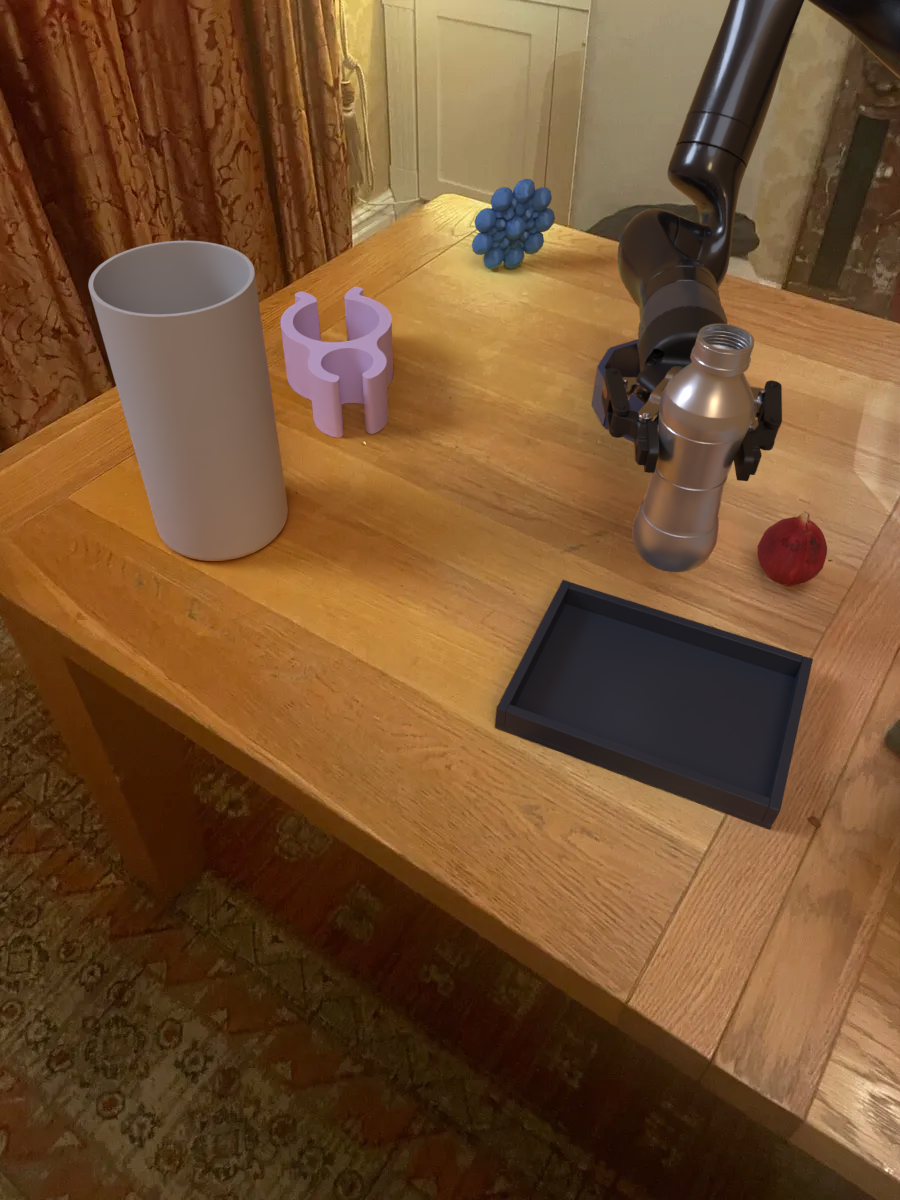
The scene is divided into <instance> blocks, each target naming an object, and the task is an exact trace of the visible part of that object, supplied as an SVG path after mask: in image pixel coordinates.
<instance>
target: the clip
mask: <svg viewBox="0 0 900 1200" xmlns="http://www.w3.org/2000/svg"><path fill="white" fill-rule="evenodd" d="M344 312H345V325H346V341H323V340H322V338H321V325H320V316H319V305H318V299H317V298H316V297H315V296H314V295H312V294H311V293H308V292H306V291H303V290H302V291H301V290H299V291H297V292H295V293H294V303H293V304H291V305H290V306H289V307H287V308H286V309H285V311H284V312H283V313H282V315H281V317H280V322H279V325H280V331H281V340H282V348H283V355H284V363H285V373H286V380H287V382H288V385H289V387H290V388H291V389H292V390H293V391H294V392H295V393H296V394H298V395H300V396H301V397H303V398H305V399H308V400H309V401H311V409H312V410H311V411H312V418H313V419H312V420H313V423H314V425H315V427H316V428H317V429H318V431H320V432H321V433H323V434H325V435H326V436H329V437H332V438H335V439H340V438H342V437H343V436H344V418H343V405H344V404H360V405H363V407H364V423H365V425H364V427H365V432H366V433H368V434H370V435H374V434H377V433H379V432H380V431H381V430H383V429H384V427H385V426H386V425H387V423H388V421H389V393H388V389H389V388H388V387H389V385H390V384H391V383H392V381H393V378H394V347H393V321H392V320H393V319H392V314H391V311H390V310H389V309H388V307H386V306H385V305H384V304H383V303H381V302H379V301H378V300H376V299H373V298H371V297H368V296H364V288H363V287H360V286H353V287H352V288H350V289H349V290H348V291H347V292H345V294H344Z"/></svg>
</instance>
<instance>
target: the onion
mask: <svg viewBox="0 0 900 1200" xmlns="http://www.w3.org/2000/svg"><path fill="white" fill-rule="evenodd" d="M756 548H757V549H756V551H757V552H756V554H757V559H758V563H759V567H760V568H761V570H762V572H763V573H764V574H765V575H766V577H767V578H769V579H770V580H771V581H772V582H775V583H777V584H779V585H784V586H797V585H802V584H806V583H808V582H810V581H811V580H812V579H814V578H815V577H816V576H818V575H819V573H820V572H821V571H822V570H823V568H824V565H825V564H826V563H825V562H826V558H827V555H828V544H827V540H826V537H825V534H824V533H823V531H822V529H821V528H820V527H819V526H818V525H817V524H816V523H815V522H814V521H813V520H811V519H810V513H809V512H807V511H805V510H803V511H802V512H801V513H800V514H798V516H792V517H786V518H783V519H780V520H778V521H776V522H775V523H774V524H772V525H770V526H769V527H768V528H767V529H766V530H765V531H764V533H763V534H762V536H761V537H760V540H759V542H758V544H757V547H756Z"/></svg>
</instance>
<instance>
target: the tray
mask: <svg viewBox="0 0 900 1200" xmlns="http://www.w3.org/2000/svg"><path fill="white" fill-rule="evenodd" d="M813 661H814V658H812V657H810V656H805V655H803V654H799V653H796V652H793V651H790V650H787V649H783V648H780V647H778V646H774V645H772V644H768V643H765V642H761V641H758V640H755V639H752V638H749V637H745V636H743V635H739V634H737V633H733V632H730V631H726V630H724V629H720V628H717V627H715V626H711V625H708V624H704V623H701V622H698V621H695V620H691V619H689V618H686V617H683V616H679V615H675V614H672V613H669V612H666V611H663V610H660V609H658V608H653V607H651V606H648V605H644V604H641V603H638V602H635V601H632V600H629V599H625V598H622V597H618V596H616V595H612V594H610V593H607V592H604V591H600V590H597V589H594V588H592V587H591V588H590V587H587V586H584V585H581V584H578V583H574V582H571V581H568V580H565V579H562V580H561V582H560V584H559V586H558V588H557V590H556V592H555V594H554V595H553V597H552V599H551V602H550V603H549V605H548V607H547V609H546V610H545V613H544V615H543V617H542V618H541V621H540V622H539V624H538V625H537V628H536V630H535V632H534V635H533V636H532V638H531V640H530V642H529V644H528V645H527V648H526V650H525V652H524V654H523V656H522V658H521V660H520V662H519V663H518V665H517V667H516V669H515V671H514V673H513V675H512V677H511V679H510V681H509V683H508V685H507V686H506V689H505V690H504V693H503V694H502V696H501V698H500V700H499V702H498V704H497V706H496V707H495V708H496V710H495V719H494V729H497V730H500V731H502V732H505V733H508V734H511V735H512V736H516V737H518V738H521V739H524V740H527V741H529V742H532V743H535V744H537V745H541V746H542V747H545V748H548V749H550V750H554V751H556V752H559V753H561V754H564V755H568V756H570V757H572V758H575V759H578V760H580V761H583V762H586V763H588V764H592V765H594V766H597V767H599V768H601V769H605V770H608V771H610V772H613V773H616V774H618V775H621V776H623V777H627V778H629V779H631V780H635V781H637V782H640V783H643V784H645V785H648V786H651V787H653V788H656V789H659V790H661V791H664V792H667V793H670V794H673V795H675V796H677V797H681V798H683V799H686V800H688V801H691V802H694V803H696V804H700V805H702V806H705V807H706V808H707V807H708V808H710V809H713V810H716V811H717V812H718V811H719V812H721V813H724V814H726V815H728V816H732V817H734V818H737V819H740V820H743V821H745V822H748V823H751V824H753V825H756V826H759V827H762V828H765V829H767V830H771V829H772V828H773V825H774V823H775V822H776V819H778V816H779V814H780V813H781V810H782V809H781V808H782V804H783V800H784V795H785V790H786V785H787V781H788V777H789V773H790V767H791V762H792V760H793V759H792V758H793V754H794V749H795V744H796V741H797V740H796V739H797V735H798V731H799V725H800V721H801V717H802V712H803V707H804V704H805V698H806V694H807V689H808V684H809V680H810V676H811V671H812V666H813Z"/></svg>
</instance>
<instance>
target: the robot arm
mask: <svg viewBox="0 0 900 1200" xmlns="http://www.w3.org/2000/svg"><path fill="white" fill-rule="evenodd" d="M807 1H808V2H810V3H811V4H813V5H814V6H816V7H817V8H818V9H819V10H821V11H823V13H825V14H827V15H828V16H830V17H831V18H832V19H833V20H835V21H836V22H837V23H839V24H840V25H841V26H843V27H844V28H845V29H846V30H848V31H849V32H850V33H851V34H852V35H853V36H854V37H855V38H856V39H857V40H858V41H859V42H860V43H861V44H862V45H863V46H864V47H865V48H866V49H867V50H868V51H869V52H870V53H871V54H872V55H873V56H874V57H875V58H876V59H877V60H878V61H879V62H881V63H882V64H883V65H884V66H885V67H886V68H887V69H888V70H889V71H891V72H892V74H894V75H895V76H896V77H897V78H898V79H899V80H900V0H807ZM804 3H805V0H729V2H728V6H727V9H726V11H725V14H724V17H723V20H722V22H721V25H720V28H719V31H718V33H717V36H716V38H715V41H714V44H713V46H712V49H711V52H710V53H709V57H708V59H707V62H706V64H705V66H704V69H703V72H702V75H701V77H700V80H699V82H698V85H697V87H696V90H695V93H694V94H693V98H692V100H691V103H690V105H689V107H688V111H687V113H686V116H685V118H684V121H683V124H682V127H681V128H680V132H679V135H678V138H677V141H676V143H675V146H674V148H673V151H672V154H671V157H670V160H669V162H668V167H667V171H666V173H667V179H668V181H669V182H670V184H671V185H672V186H673V187H674V188H675V189H677V190H678V191H679V192H680V193H682V194H683V195H684V196H686V197H687V198H688V199H690V200H691V201H692V202H693V204H694V205H695V206H696V209H697V213H698V219H699V221H698V222H696V221H693V220H691V219H689V218H686V217H684V216H682V215H679V214H676V213H674V212H671V211H669V210H666V209H662V208H658V207H657V208H656V207H655V208H647V209H645V210H643V211H641V212H639V213H637V214H636V215H634V216H633V217H632V218H631V220H630V221H628V223H627V225H625V227H624V230H622V231H623V232H622V233H621V236H620V239H619V242H618V248H617V267H618V272H619V273H618V274H619V277H620V279H621V282H622V283H623V286H624V287H625V289H626V291H627V292H628V294H629V295H630V297H631V298H632V300H633V302H634V304H635V305H636V306H637V307H638V310H639V325H638V331H637V332H638V333H637V339H638V343H637V349H638V353H639V362H640V373H639V374H638V376H637V377H622V374H621V371H620V370H619V369H617V368H608V369H606V372H605V378H604V384H603V390H602V396H601V398H602V403H603V407H604V412H605V416H606V420H607V425H608V429H609V430H608V429H607V430H608V433H609V435H610V436H611V437H613V438H616V439H620V438H624V437H623V436H624V435H628V436H630V437H632V438H633V441H634V442H633V441H632V442H633V443H634V446H633V447H634V461H635V463H636V464H637V466H643V473H648V474H652V473H654V472H655V468H656V464H657V459H658V455H659V440H658V425H659V406H660V399H661V394H662V392H663V390H664V389H665V387H666V385H667V384H668V382H669V380H670V379H671V378H673V377H674V376H675V375H676V374H677V373H678V372H680V371H681V370H682V369H683V368H684V367H686V366H687V365H689V364H690V363H692V361H691V358H690V357H691V352H692V349H693V347H694V346H695V343H696V339H697V335H698V333H699V331H700V329H701V328H703V327H704V326H707V325H710V324H729V322H728V318H727V315H726V312H725V310H724V307H723V306H722V302H721V297H720V292H719V289H720V287H721V285H722V284H723V282H724V280H725V278H726V276H727V272H728V269H729V265H730V260H731V253H732V244H733V234H734V225H735V217H736V209H737V205H738V200H739V199H738V198H739V193H740V189H741V185H742V181H743V178H744V175H745V173H746V171H747V168H748V165H749V162H750V161H751V157H752V155H753V152H754V150H755V148H756V145H757V142H758V139H759V136H760V135H761V131H762V129H763V126H764V123H765V120H766V118H767V115H768V112H769V109H770V105H771V103H772V99H773V96H774V93H775V90H776V87H777V83H778V80H779V77H780V73H781V71H782V67H783V63H784V60H785V57H786V54H787V50H788V47H789V44H790V40H791V38H792V35H793V32H794V29H795V26H796V23H797V21H798V18H799V15H800V12H801V10H802V8H803V5H804ZM750 388H751V390H752V393H753V396H754V405H755V414H754V417H753V419H752V422H751V425H750V427H749V429H748V431H747V433H746V435H745V437H744V439H743V441H742V443H741V445H740V447H739V449H738V451H737V453H736V455H735V457H734V460H733V464H734V470H735V477H736V481H739V482H748V481H749V479H750V476H755V475H756V473H757V471H758V468H759V465H760V462H761V458H762V451H761V450H763V451H771V450H773V449H774V445H775V442H776V438H777V436H778V432H779V429H780V428H781V425H782V424H783V423H782V422H783V397H782V396H783V391H782V390H783V387H782V384H781V383H780V382H779V381H777V380H767V381H766V382H765V385H764V388H762V387H755V386H750ZM631 394H633V395H636V396H637V398H639V399H640V400H641V401H642V402H643V403H645V405H644V406H643V407H642V408H641V409H640V410H639V412H635V411H631V410H630V405H629V401H628V400H629V398H630V395H631ZM756 418H757V419H756Z"/></svg>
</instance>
